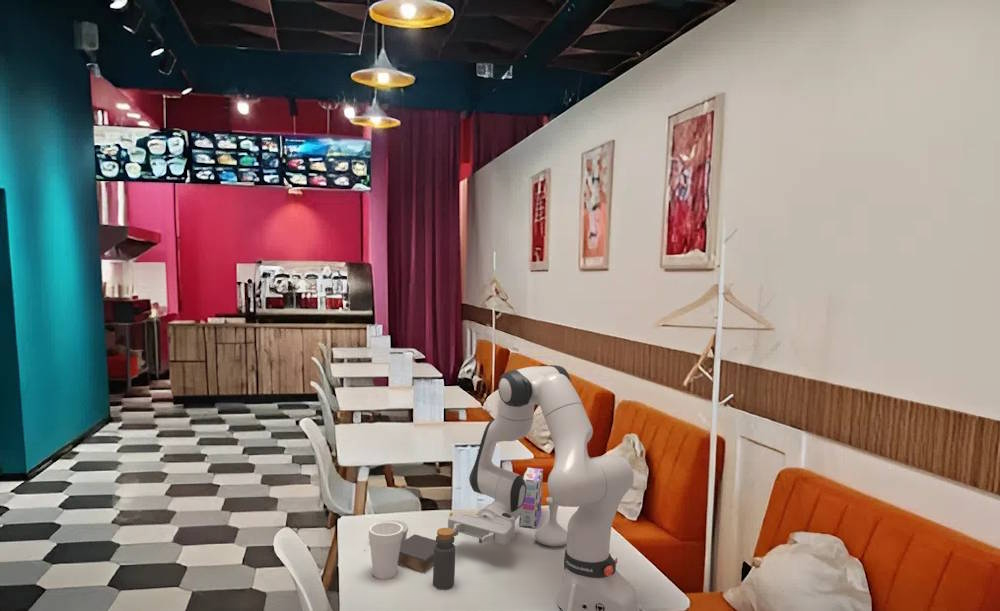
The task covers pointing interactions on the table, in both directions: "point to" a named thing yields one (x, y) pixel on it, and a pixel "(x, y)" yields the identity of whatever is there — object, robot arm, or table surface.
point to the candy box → (532, 498)
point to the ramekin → (404, 525)
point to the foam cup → (385, 548)
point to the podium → (417, 553)
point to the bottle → (444, 559)
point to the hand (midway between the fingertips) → (466, 537)
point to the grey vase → (551, 528)
